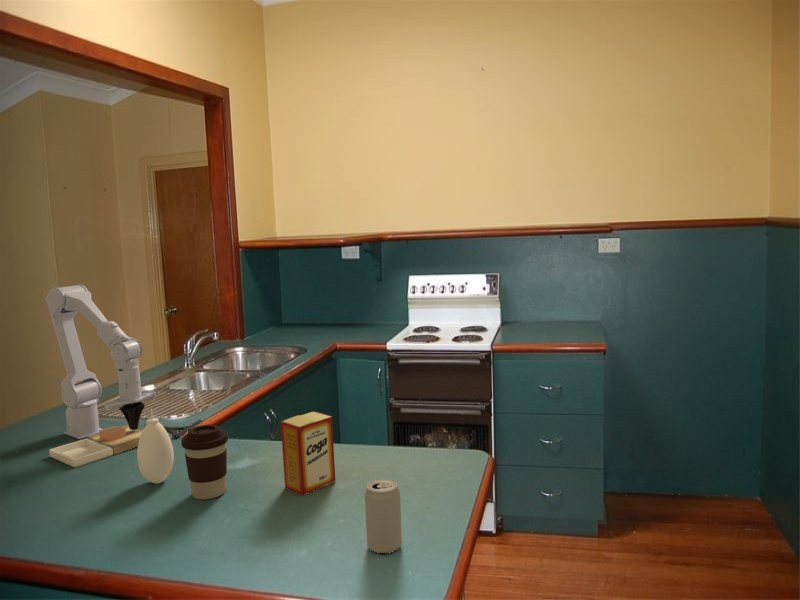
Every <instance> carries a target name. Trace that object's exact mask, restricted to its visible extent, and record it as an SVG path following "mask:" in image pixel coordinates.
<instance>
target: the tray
mask: <svg viewBox="0 0 800 600" xmlns="http://www.w3.org/2000/svg"><path fill="white" fill-rule="evenodd" d="M48 451H49V457H50V458H53V459H54V460H56V461H59V462H61V463H64V464H66V465H67V466H69V467H72V468H74V469H75V468H77V467H81V466H85V465H88V464H91V463H93V462H94V463H95V462H97V461H99V460H103V459H106V458H109V457H112V456H114V455H113V448H111V447H109V446H106V445H103V444H101V443H98V442H95V441H93V440H90V439H88V438H83V439H79V440H77V441H75V442H71V443H67V444H63V445H60V446H57V447H53V448H49V450H48Z"/></svg>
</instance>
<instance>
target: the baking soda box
mask: <svg viewBox="0 0 800 600" xmlns="http://www.w3.org/2000/svg"><path fill="white" fill-rule="evenodd" d="M333 430H334V428H333V416H331V415H329V414H324V413H320V412H317V411H311V412H308V413H305V414H301V415H299V414H298V415H295V416H293V417H290V418H286V419H284V420H282V421H280V431H281V445H282V446H281V447H282V459H283V461H282V463H283V477H284V489H286V488H288V489H290V490H289V491H291V490H292V491H291V492H293V491H294V493H295V492H297V493H296V494H298V493H299V494H298V495H300V494H301V495H300V496H302V495H303V496H305V495H304V494H306V493H308V492H311V491H313V490H315V491H317V490H316V489H318V488H320V487H322V486H324V485H326V484H329V483H331V482H334V481H335V482H336V471H335V470H336V467H335V449H334V448H335V447H334V431H333ZM335 482H334V483H335ZM329 485H330V484H329ZM322 488H323V487H322ZM288 489H287V490H288ZM320 489H321V488H320ZM318 490H319V489H318ZM313 492H314V491H313ZM311 493H312V492H311ZM308 494H309V493H308ZM306 495H307V494H306Z"/></svg>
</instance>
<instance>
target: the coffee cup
mask: <svg viewBox="0 0 800 600" xmlns="http://www.w3.org/2000/svg"><path fill="white" fill-rule="evenodd" d="M228 441H229V434H228V431H226V430H224V429H221V427H220V426H219V425H217V424H216V425H215V424H204V425H203V424H201V425H199V426H197V427H194V428H192V429H190V430H189V431H188V433H186V434H185V435H183V436H182V437H181V442H180V443H181V447H182V448H183V449H185V453H184V455H185V456H184V457H185V464H186V469H187V476H188V479H189V482H190V488H191V494H192V497H193V498H195V499H197V500H205V501H206V500H211V499H216V498H218V497H220V496H222V495H224V493H225V492H226V491H227V488H226V485H227V483H226V482H227V480H226V478H227V477H226V476H227V470H228V468H227V467H228V466H227V463H228V462H227V461H228V460H227V459H228V458H227V455H228V454H227V447H226V443H228Z"/></svg>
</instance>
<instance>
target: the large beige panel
mask: <svg viewBox="0 0 800 600" xmlns="http://www.w3.org/2000/svg"><path fill="white" fill-rule="evenodd" d="M121 427H122V428H125V430H126V437H122V438H119V439H116V440H113V441H109V442H108V441H106V440H103V439H100V437H99V433H98V434H95V435H91V436H88V437H87V439H90V440H93V441H95V442H98V443H101V444H103V445H106V446H109V447H111V448H113V454H114V455H113V456H115V454H116V455H118V453H119V454H122V453H124V452H123V451H125V452H127V451H126V450H128V451H130V450H129V449H131V450H133V449H132V448H134V449H136V448H135V447H137V448H138V443H139V439H140V436H141V433H142V431H143V429H140V428H138V429H136V430H131V429H130V428H129V425H128V424H126V425H123V426H121ZM121 452H122V453H121Z"/></svg>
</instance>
